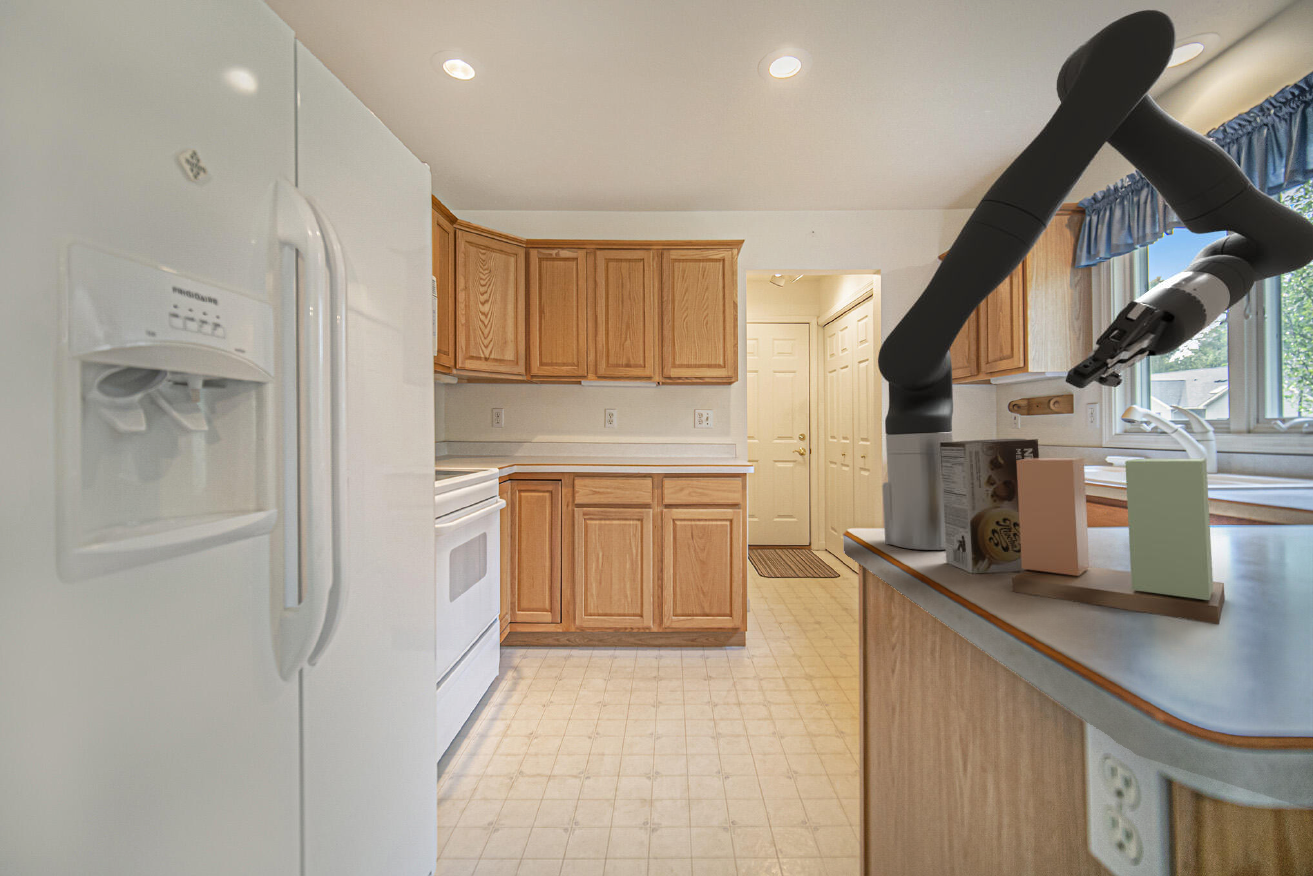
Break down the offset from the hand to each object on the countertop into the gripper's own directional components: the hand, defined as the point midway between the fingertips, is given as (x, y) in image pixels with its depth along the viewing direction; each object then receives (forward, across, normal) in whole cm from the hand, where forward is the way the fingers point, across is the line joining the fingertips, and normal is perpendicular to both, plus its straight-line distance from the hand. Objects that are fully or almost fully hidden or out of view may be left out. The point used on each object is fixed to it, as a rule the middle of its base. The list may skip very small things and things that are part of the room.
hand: (1074, 380), depth 64 cm
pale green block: (+16, +2, -21) cm, 26 cm away
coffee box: (+19, +15, -7) cm, 25 cm away
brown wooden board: (+17, +6, -18) cm, 26 cm away
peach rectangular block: (+18, +8, -13) cm, 23 cm away
